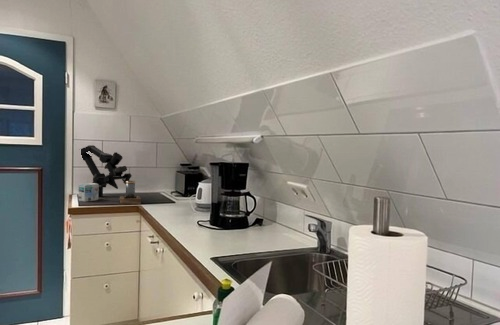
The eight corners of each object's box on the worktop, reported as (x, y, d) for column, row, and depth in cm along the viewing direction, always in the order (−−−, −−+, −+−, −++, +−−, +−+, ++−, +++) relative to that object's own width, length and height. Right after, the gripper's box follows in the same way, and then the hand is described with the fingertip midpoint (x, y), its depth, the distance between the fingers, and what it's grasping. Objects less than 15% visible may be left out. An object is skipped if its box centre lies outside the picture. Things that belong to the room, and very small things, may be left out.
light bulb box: (84, 201, 242) (84, 185, 242) (77, 200, 246) (78, 183, 245) (98, 199, 251) (99, 183, 251) (92, 198, 255) (92, 182, 254)
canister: (123, 200, 247) (124, 180, 246) (132, 200, 251) (132, 180, 250) (127, 202, 243) (128, 181, 242) (136, 201, 247) (136, 181, 246)
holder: (119, 201, 250) (119, 196, 250) (138, 200, 254) (139, 195, 254) (120, 204, 239) (120, 199, 239) (140, 203, 243) (140, 198, 243)
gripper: (106, 162, 244) (117, 181, 239) (130, 161, 259) (140, 179, 254) (98, 173, 249) (109, 192, 243) (122, 171, 264) (132, 189, 259)
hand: (123, 187), depth 250 cm, fingers open, 9 cm apart
